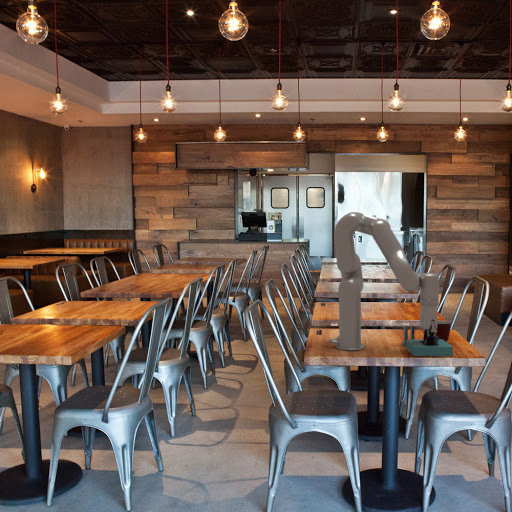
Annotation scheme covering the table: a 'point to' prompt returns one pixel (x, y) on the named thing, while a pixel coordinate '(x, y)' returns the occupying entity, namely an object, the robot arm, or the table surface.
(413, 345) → the block
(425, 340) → the plug
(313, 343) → the table surface
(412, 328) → the cable clip
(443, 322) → the mug
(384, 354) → the table surface
